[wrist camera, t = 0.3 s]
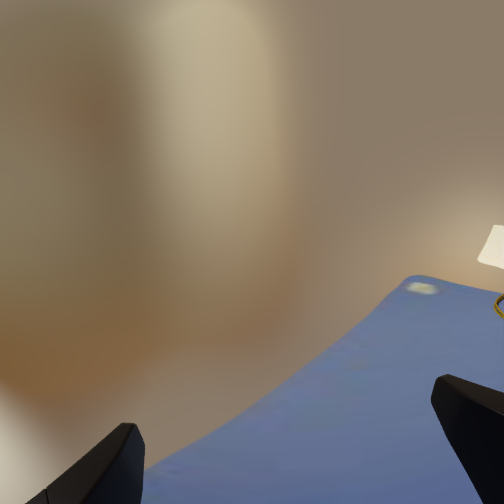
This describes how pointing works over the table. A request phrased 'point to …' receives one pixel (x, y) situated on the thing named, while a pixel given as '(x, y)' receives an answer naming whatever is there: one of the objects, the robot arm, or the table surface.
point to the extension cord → (497, 306)
